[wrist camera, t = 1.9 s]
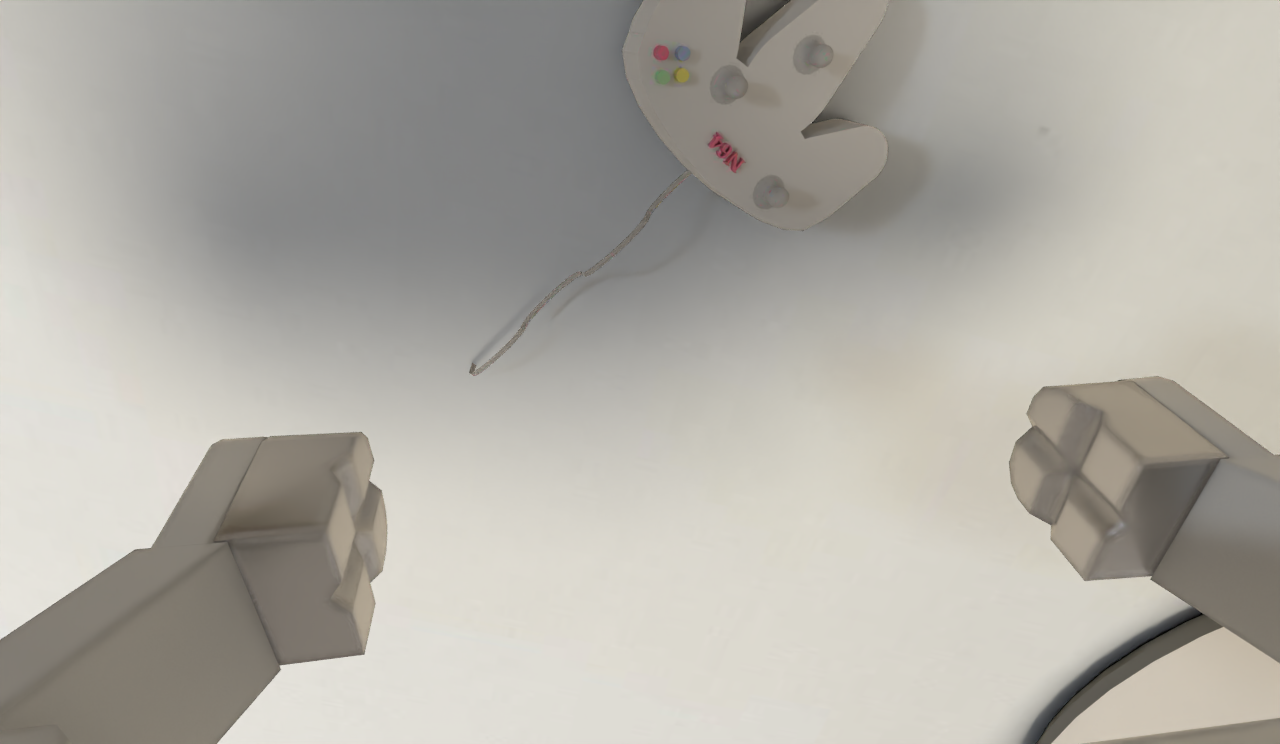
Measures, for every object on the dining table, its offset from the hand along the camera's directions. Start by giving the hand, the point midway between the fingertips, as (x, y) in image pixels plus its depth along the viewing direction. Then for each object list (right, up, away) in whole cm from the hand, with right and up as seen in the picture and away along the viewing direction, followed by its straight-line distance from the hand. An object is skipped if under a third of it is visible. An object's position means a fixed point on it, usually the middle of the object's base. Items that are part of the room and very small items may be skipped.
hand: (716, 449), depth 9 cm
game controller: (-1, +5, +7) cm, 9 cm away
